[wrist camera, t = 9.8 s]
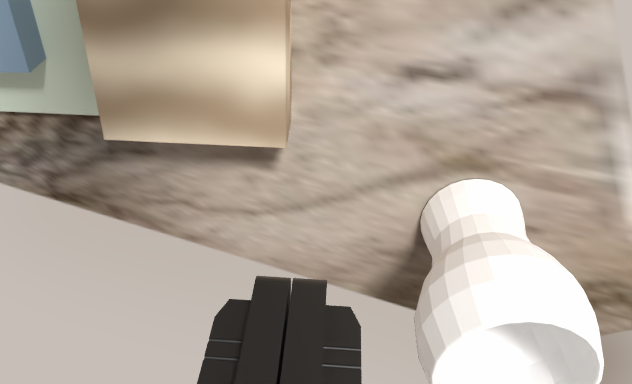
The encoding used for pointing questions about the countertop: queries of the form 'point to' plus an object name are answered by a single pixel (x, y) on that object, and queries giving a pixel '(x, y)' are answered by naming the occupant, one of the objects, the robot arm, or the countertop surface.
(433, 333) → the white vase
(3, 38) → the tile
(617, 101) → the countertop surface
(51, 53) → the mat
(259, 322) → the robot arm
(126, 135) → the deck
